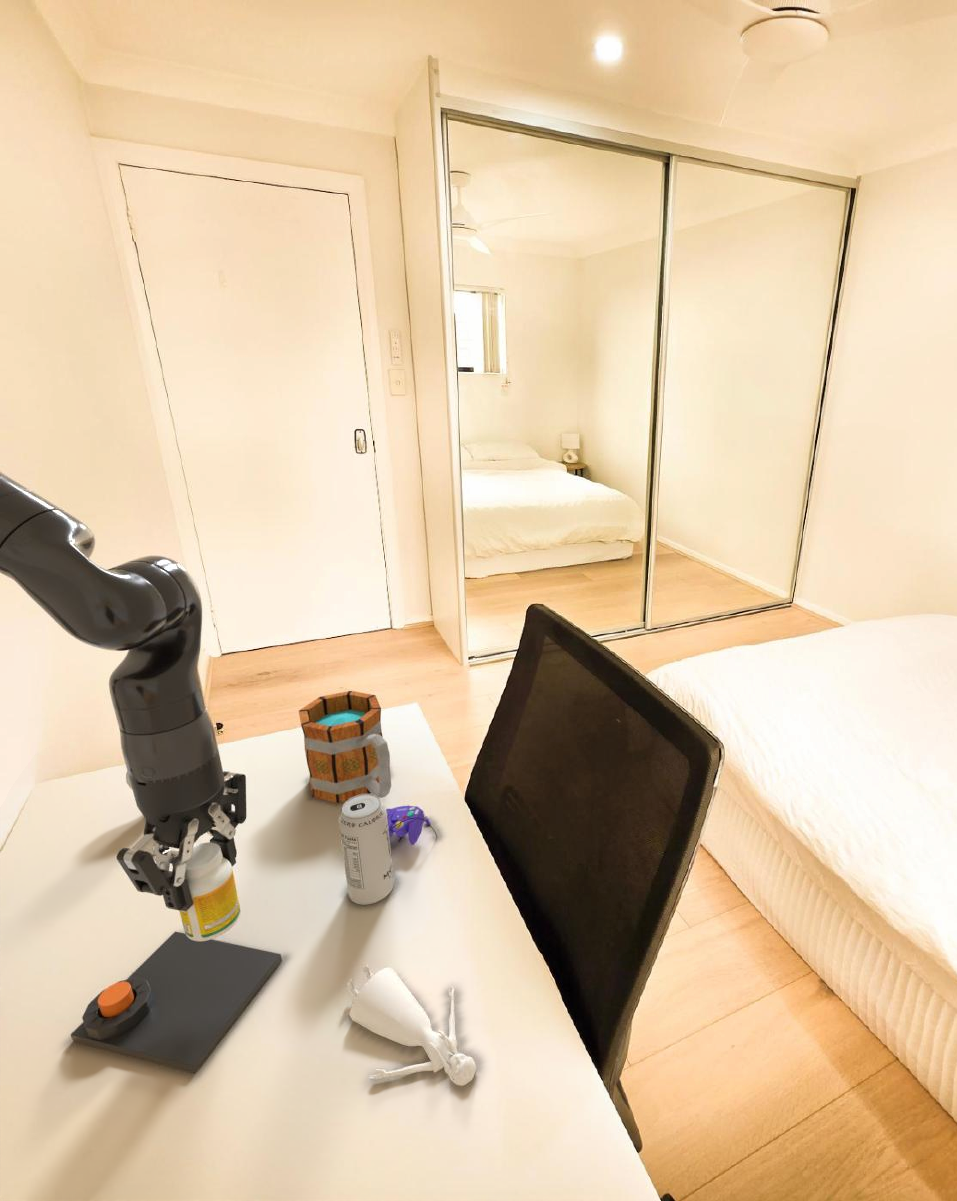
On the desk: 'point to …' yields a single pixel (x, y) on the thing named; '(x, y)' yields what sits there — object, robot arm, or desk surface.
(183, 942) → the scale
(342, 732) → the mug
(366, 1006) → the woman figurine
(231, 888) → the supplement bottle
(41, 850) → the desk surface
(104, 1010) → the button
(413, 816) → the game controller
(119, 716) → the robot arm
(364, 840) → the energy drink can
